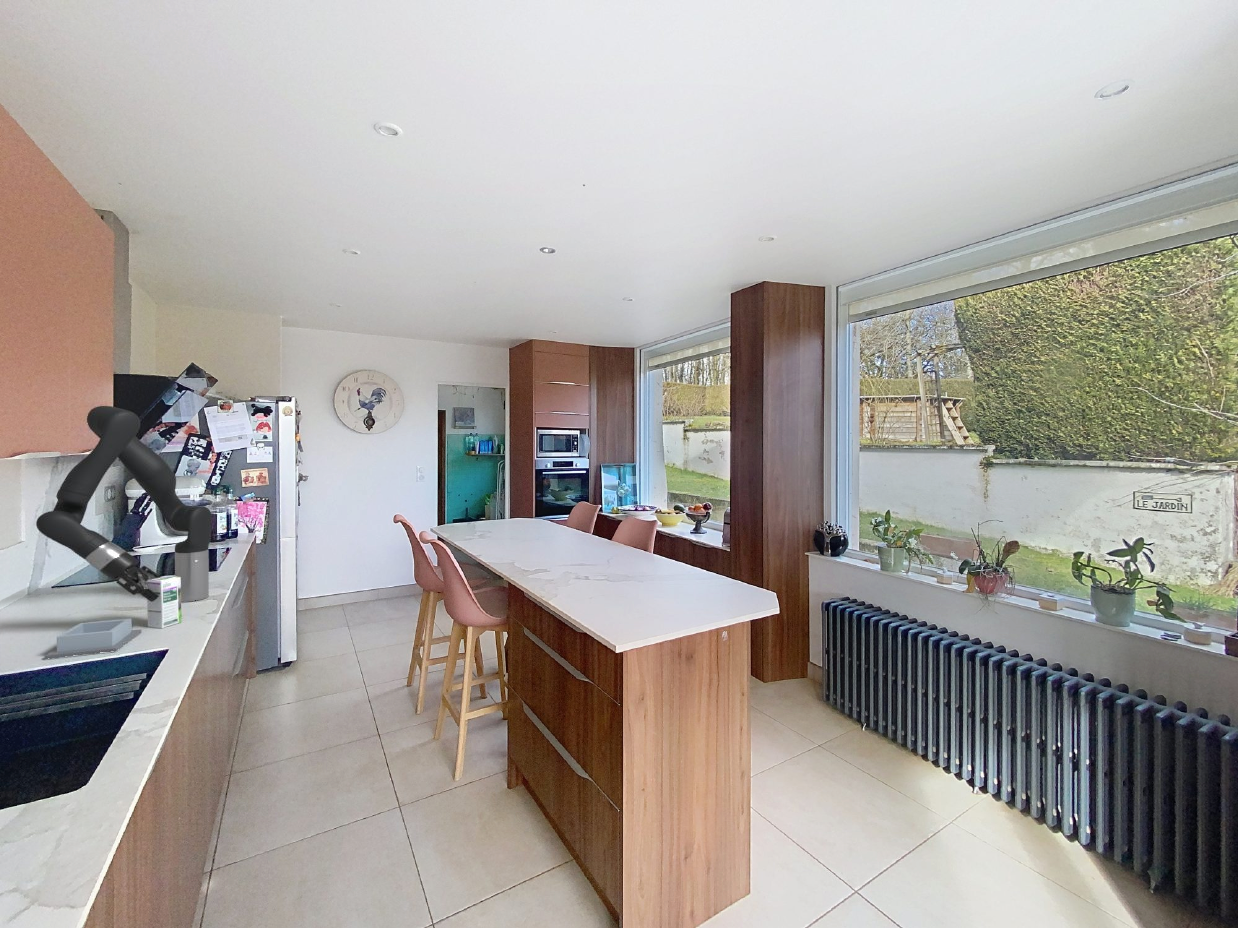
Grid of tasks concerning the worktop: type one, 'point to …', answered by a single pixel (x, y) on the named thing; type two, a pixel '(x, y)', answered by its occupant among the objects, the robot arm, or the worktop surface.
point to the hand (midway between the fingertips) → (161, 595)
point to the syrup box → (164, 602)
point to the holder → (94, 638)
